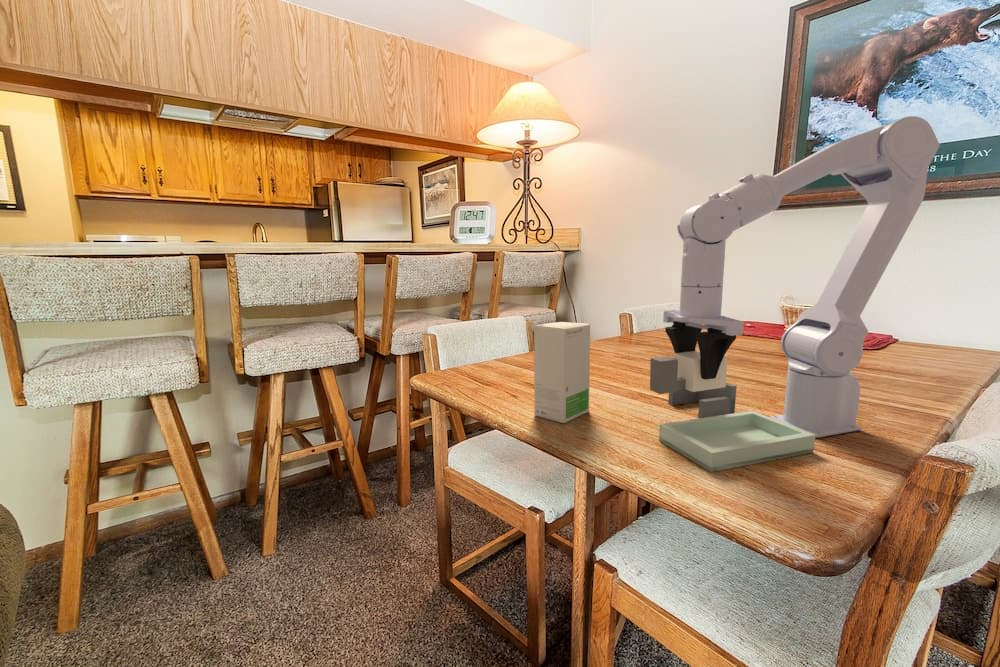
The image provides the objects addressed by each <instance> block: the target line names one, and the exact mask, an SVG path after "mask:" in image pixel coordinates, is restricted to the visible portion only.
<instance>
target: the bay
mask: <svg viewBox="0 0 1000 667" xmlns="http://www.w3.org/2000/svg"><path fill="white" fill-rule="evenodd" d="M736 398H737V385H736V384H732V383H729V382H726V387H724V388H717V389H710V390H703V391H697V392H692V391H689V390H687V389H682V390H677V392H671V393H668V401H667V402H668V404H669V405H672V406H674V405H683V404H691V403H695V402H697V403H698V414H697V417H698V419H699V418H706V417H713V416H719V415H726V414H733V413H736V412H735V411H736V401H737V399H736Z"/></svg>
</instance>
